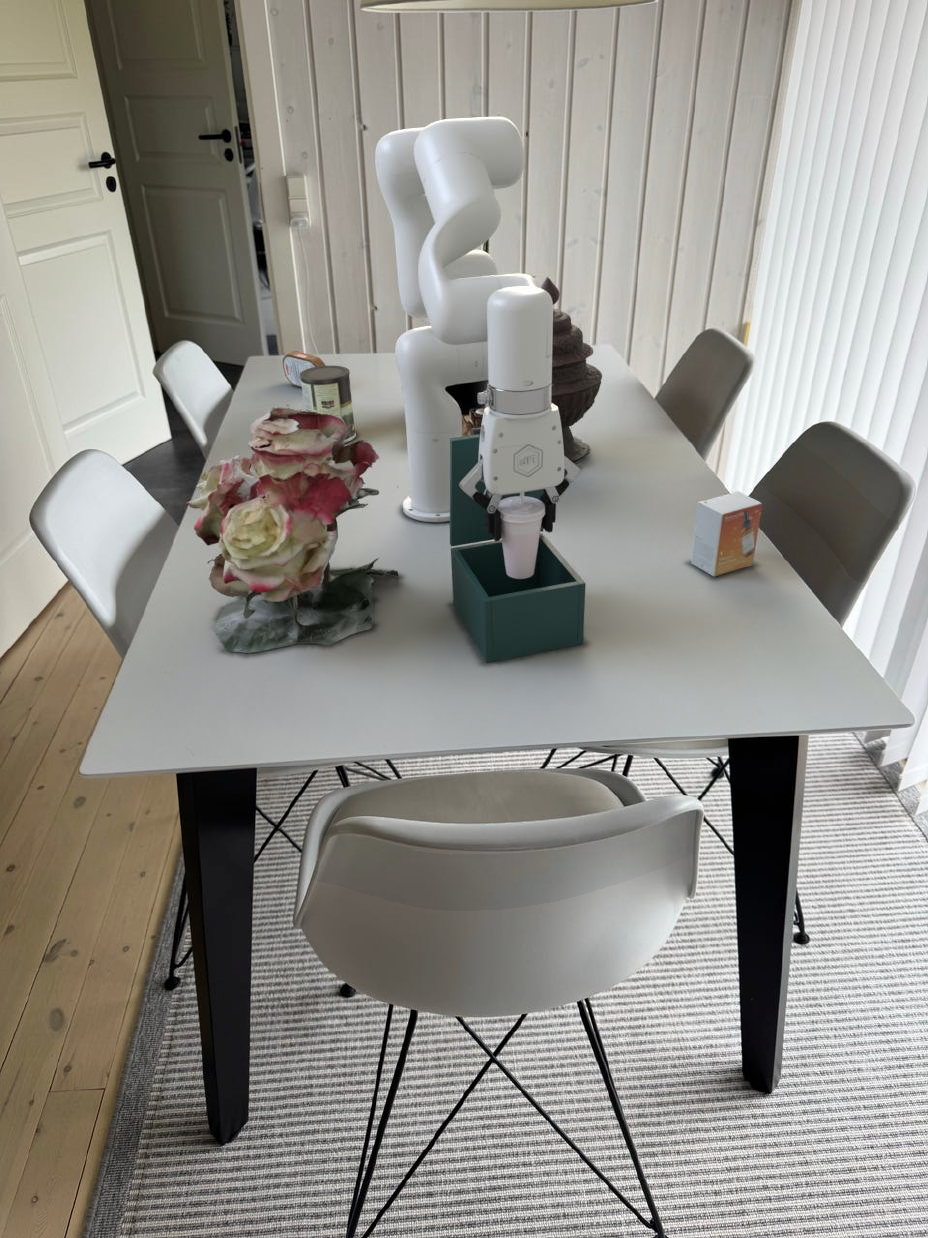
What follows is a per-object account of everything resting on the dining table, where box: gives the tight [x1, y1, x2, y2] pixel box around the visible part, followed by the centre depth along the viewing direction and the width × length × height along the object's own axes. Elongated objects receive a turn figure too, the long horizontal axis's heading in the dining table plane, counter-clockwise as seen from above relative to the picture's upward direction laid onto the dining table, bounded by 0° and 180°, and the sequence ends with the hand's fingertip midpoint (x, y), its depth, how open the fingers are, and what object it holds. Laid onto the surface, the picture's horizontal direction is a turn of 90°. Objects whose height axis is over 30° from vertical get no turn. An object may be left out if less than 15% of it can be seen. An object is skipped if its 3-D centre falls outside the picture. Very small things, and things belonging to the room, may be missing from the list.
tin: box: [282, 350, 327, 389], centre depth 223 cm, size 15×3×8 cm, turn 49°
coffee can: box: [300, 365, 357, 444], centre depth 190 cm, size 10×10×14 cm
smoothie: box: [497, 492, 545, 579], centre depth 117 cm, size 6×6×14 cm
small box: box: [690, 490, 763, 578], centre depth 137 cm, size 8×6×10 cm
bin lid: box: [449, 426, 545, 548], centre depth 125 cm, size 17×14×5 cm
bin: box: [450, 532, 587, 664], centre depth 125 cm, size 16×14×9 cm
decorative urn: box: [539, 276, 603, 465], centre depth 171 cm, size 20×20×35 cm
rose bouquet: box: [185, 404, 400, 654], centre depth 124 cm, size 26×29×30 cm
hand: (520, 531), depth 117 cm, fingers closed on smoothie, 6 cm apart
